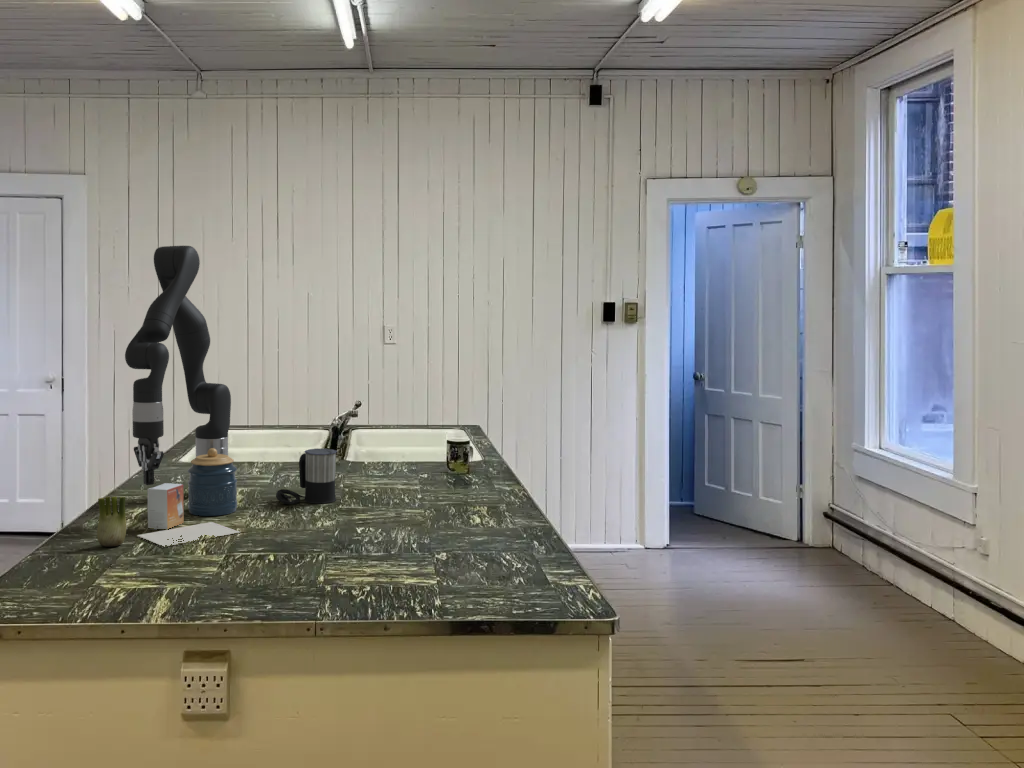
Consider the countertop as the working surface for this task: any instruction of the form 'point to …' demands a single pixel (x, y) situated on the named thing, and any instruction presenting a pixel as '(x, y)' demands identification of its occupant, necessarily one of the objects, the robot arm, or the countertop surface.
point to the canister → (212, 485)
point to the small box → (165, 506)
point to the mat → (187, 533)
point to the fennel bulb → (111, 522)
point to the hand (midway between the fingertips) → (148, 484)
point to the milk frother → (314, 478)
